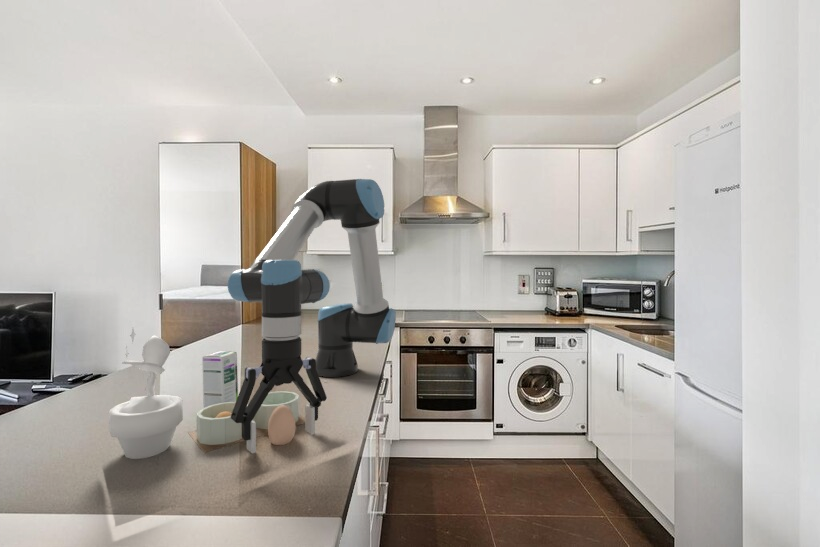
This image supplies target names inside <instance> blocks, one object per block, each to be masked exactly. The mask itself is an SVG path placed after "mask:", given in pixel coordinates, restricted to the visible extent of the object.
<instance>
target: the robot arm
mask: <svg viewBox="0 0 820 547" xmlns="http://www.w3.org/2000/svg"><path fill="white" fill-rule="evenodd" d="M384 214H385V199H384V195H383V193H382V190H381V187H380V185H379V184H378V183H377V181H375V180H373V179H372V178H370V179H368V178H367V179H366V178H363V179H362V178H354V179H353V178H352V179H341V180H325V181H322V182H320V183H317V184H316V185H314V186H312V187H311V188H309V189H308V190H306V191H305V192H304V193H303V194H301V195H300V196H299V197H298V199H297V200H296V201H295V202H294V203H293V205H292V207H291V213H290V215H289V216H288V217H287V218H286V220H285V221H284V222H283V223H282V225H281V226H280V227H279V229H277V231H276V233H275V234H274V235H273V236H272V238H271V239H270V240H269V241H268V243H267V244H266V245H265V247H264V248H263V249H262V250H261V252H260V253H259V254H258V255H257V257H256V258H255V259H254V261H253V263H251V265H250V266H249V267H248V268H241V269H237V270H235V271H233V272H232V273H230V275H229V277H228V279H227V290H228V293H229V295H230V297H231V298H232V299H233V300H235V301H236V302H244V303H245V302H246V303H261V311H262V312H261V336H262V337H263V339H262V340H261V364H260V366H256V367H250V366H246V367H245V368H244V380H243V383H242V385H241V388H240V391H239V392H238V398H237V401H236V403H235V406H234V409H233V411H232V414H231V419H232V420H233V421H235V422H236V423H241V424H242V438H243V439H244V440H245V441H244V442H246V450H247V451H249V453H250V454H251V455H252V454H255V453H257V437H256V423H255V422H254V421H253V418H254V416H255V415H256V413H257V411H258V410H259V408H260V406H261V405H262V403H263V401H264V400H265V398H266V397H267V395H268V393H270V392H272V390H273V389H274V387H280V386H282V385H284V384H288V385H289V384H292V383H294V385H295V387H296V388H297V390H299V391H300V393H301V394H302V395H303V397H304V398H305V400H306V401H307V402H308V404H305V405H304V406H305V407H304V409H305V410H304V411H305V412H304V415H305V416H304V418H305V424H304V427H305V428H304V431H305V432H306V433H308V434H309V435H311V436H312V435H315V434H316V433H315V431H316V428H315V427H316V425H315V424H316V421H318V420H319V408H320V407H321V406H322V402H325V401H326V400H327V397H328V396H327V394H326V392H325V389H324V386H323V384H322V382H321V379H320V377H322V376H323V377H322V378H341V376H342V377H346V376H347V375H348V376H351V375H354V374H356V373H357V372H358V371H359V370H358V368H359V365H358V361H357V359H356V358H357V357H356V356H355V353H354V349H353V346H354V345H353V344H354V343H364V344H365V343H366V344H376V345H378V344H387V343H389V342H390V341H391V339H392V337H393V335H394V332H395V328H396V318H397V317H396V316H397V315H396V310H395V309H394V308H392V307H391V308H390V307H389V306H390V305H389V301H388V300H387V299H385V298H384V294H383V284H382V277H381V268H380V258H379V250H378V249H379V248H378V240H377V233H376V232H377V231H376V228H377V227H378V226H379V224H380V219H382V218H383V217H384ZM331 220H333V221H337V220H340V223H341V224H340V225H341V228H343V229H344V230H345V231H346V232H347V238H348V239H347V240H348V246H349V254H350V259H351V265H352V273H353V281H354V287H355V295H356V296H355V297H356V302H355V304H354V305H353V303H349V302H348V303H340V304H339V303H338V304H333V305H327V306H322V307H320V309H319V310H318V317H317V325H318V326H317V328H318V329H317V335H318V337H317V338H318V340H317V342H318V343H317V344H318V350H317V353H316V355H315V356H316V357H315V358H313V357H311V356H306V357H305V358H303V359H302V357H301V356H302V338H301V337H300V335H301V334H302V305H304V304H310V303H312V304H315V303H317V302H319V301H320V302H321V301H322V300H323V299H325V298H326V297H327V295H328V294H329V292H330V287H331V286H330V285H331V283H330V280H329V278H328V276H327V275H326V273H324V272H323V271H321V270H318V269H302V264H301V262H300V260H298V259H297V260H295V258H296V256H297V255H298V254H299V252H300V251H301V249H302V248H303V246H304V245H305V243H307V240H308V239H309V238H310V237H311V235H312V233H313V231H314V230H315V229H317V228H319V227H320V226H322V224H323V223H324V222H326V221H331ZM302 368H303V369H305V372H306V374H307V377H308V379H309V382H310V385H311V387H312V390H313V391H312V390H311V389H310V388H309V386H308V385H307V384H306V383H305V380H304V378H303V377H302V376H301V375H300V371H301V370H302ZM260 374H262V376H263V378H262V380H261V381H260V382H259V386H258V388H257V389H256V391H255V393H254V395H253V396H252V393H253V390H254V388H255V384H256V381H257V379H259V375H260ZM313 392H314V393H313ZM251 396H252V398H251ZM250 399H251V400H250ZM247 404H248V406H247Z"/></svg>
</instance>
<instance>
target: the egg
mask: <svg viewBox="0 0 820 547" xmlns="http://www.w3.org/2000/svg"><path fill="white" fill-rule="evenodd" d="M296 427H297V426H296V425H295V418H294V416H293V413H292V412H291V410H290V409H289V408H288V407H287V406H284V405H282V406H279V407H277V408H276V409H275V410H274V411H273V413H272V415H271V417H270V420H269V423H268V434H267V435H268V439H269V440H270V443H272V444H273V445H276V446H284V445H286V444H289V443H291V441H292V440H293V439H294V437H295V434H296Z"/></svg>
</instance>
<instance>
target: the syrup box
mask: <svg viewBox="0 0 820 547" xmlns="http://www.w3.org/2000/svg"><path fill="white" fill-rule="evenodd" d="M201 359H202V395H203V397H202V399H203V408H206V407H208V406H210V405H215V404H219V403H224V402H236V401H237V398H238V395H239V392H238V391H239V390H238V387H239V386H238V385H239V384H238V381H239V380H238V376H239V375H238V353H237V352H236V351H231V350H225V351H224V350H222V351H219V350H218V351H216V352H214V353H210V354H207V355H206V354H205V355H203V356H202V357H201Z"/></svg>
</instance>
